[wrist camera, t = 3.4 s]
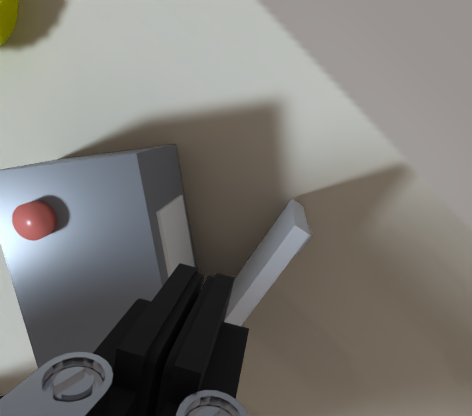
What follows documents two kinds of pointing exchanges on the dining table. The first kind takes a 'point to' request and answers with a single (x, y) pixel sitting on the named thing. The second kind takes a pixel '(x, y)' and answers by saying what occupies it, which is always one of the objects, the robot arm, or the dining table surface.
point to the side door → (268, 262)
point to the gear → (7, 18)
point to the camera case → (91, 241)
